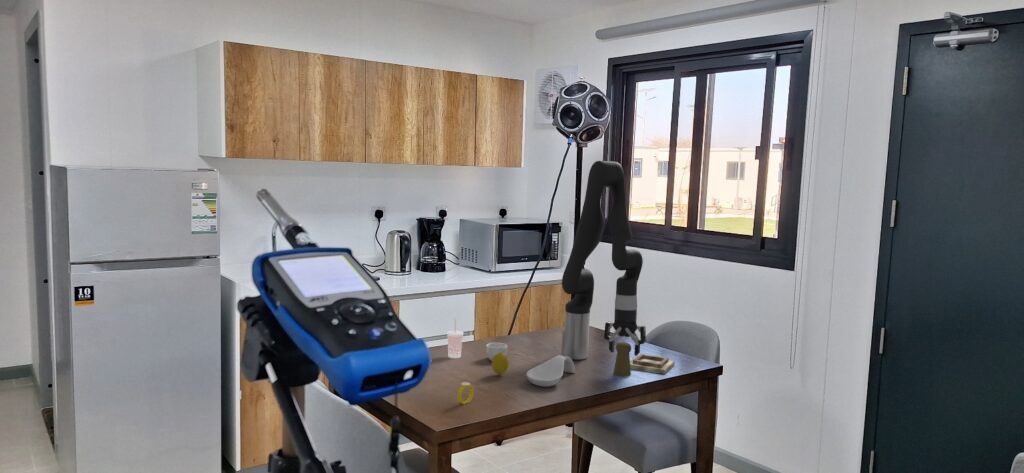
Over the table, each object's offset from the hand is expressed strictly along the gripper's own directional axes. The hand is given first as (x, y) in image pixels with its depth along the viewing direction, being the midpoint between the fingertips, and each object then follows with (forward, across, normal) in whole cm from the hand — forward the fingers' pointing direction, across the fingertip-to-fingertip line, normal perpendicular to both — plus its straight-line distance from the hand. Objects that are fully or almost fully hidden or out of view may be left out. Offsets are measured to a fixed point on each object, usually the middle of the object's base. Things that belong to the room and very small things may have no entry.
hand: (624, 353), depth 242 cm
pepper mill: (+8, -1, 0) cm, 8 cm away
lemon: (+7, -36, -25) cm, 44 cm away
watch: (+8, -32, -55) cm, 64 cm away
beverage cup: (+6, -61, -13) cm, 62 cm away
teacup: (+7, -46, -7) cm, 47 cm away
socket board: (+7, +6, +15) cm, 18 cm away
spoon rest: (+8, -18, -19) cm, 28 cm away
